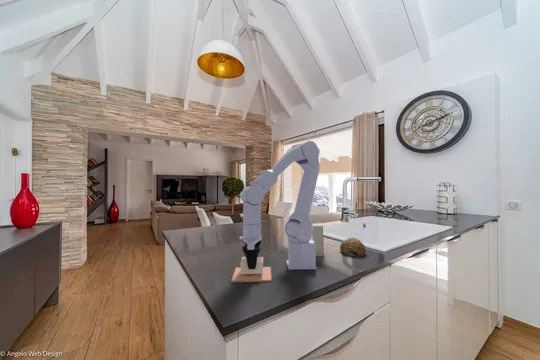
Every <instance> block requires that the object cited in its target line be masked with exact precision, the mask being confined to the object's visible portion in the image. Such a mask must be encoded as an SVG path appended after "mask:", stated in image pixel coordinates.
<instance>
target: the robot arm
mask: <svg viewBox="0 0 540 360" xmlns="http://www.w3.org/2000/svg"><path fill="white" fill-rule="evenodd" d="M320 153H321V150H320V149H319V147H318V145H317V144H316V142H314V141H313V140H306V141H305V142H301V143H299V144H294V145H293V146H291V147H289V149H287V150H286V152H285V153H284V154H283V156H281V158H280V159H279V160H278V161H277V162H276V163H275V164H274V165H273V166H272V167H271V168H270V169H265V170H261V171H259V173H258V174H259V175H258V176H257V177H256V178H255V179H253V181H250V182H249V186H245V187H243V189H242V191H241V194H240V195H239V196H240V200H241V201H242V202H243V206H242V220H243V222H242V224H243V226H242V227H243V228H242V234H243V235H242V236H239V240H240V241H243V242H244V244H245V245H242V249H241V250H242V251H243V254H244V257H246V260H247V265H248V269H255V268H256V263H257V257H259V253H260V251H261V243H262V237H263V236H262V209H261V207H262V206H261V203H262V202H263V201H264V199H265V195H266V194H267V193H268V192H269V191H270V190H271V189H272V188H273V186H275V185H276V183H277V182H278V176H280V175H281V174H282V173H283V172H284V171H285V170H287V168H288V167H290V165H292V164H293V163H296V164H297V165H299V166H300V167H301V169H302V171H303V172H302V177H301V182H300V186H299V190H298V195H297V198H296V203H295V206H294V211H293V212H292V213H291V214H290V215H289V218H288V221H287V222H286V223H285V225H284V233H285V234H286V236H287V244H288V245H287V247H288V248H287V249H288V250H287V251H288V253H287V254H288V259H287V260H286V261H285V262H286V265H287V270H317V267H316V266H317V264H316V259H317V258H316V257H317V256H316V250H315V243H314V241H313V239H312V238H313V229H312V224H313V219H312V218H311V216H310V214H311V213H310V212H311V209H312V208H311V207H312V204H313V200H314V195H315V190H316V186H317V182H318V177H319V173H320V161H319V156H320ZM311 239H312V240H311Z"/></svg>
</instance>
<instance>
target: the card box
mask: <svg viewBox="0 0 540 360" xmlns="http://www.w3.org/2000/svg"><path fill="white" fill-rule="evenodd" d="M263 267H264V256H258V257H257V263H256V268H255V269H248V265H247V260H246V256H242V257H241V259H240V274H263Z"/></svg>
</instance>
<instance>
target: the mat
mask: <svg viewBox="0 0 540 360" xmlns="http://www.w3.org/2000/svg"><path fill="white" fill-rule="evenodd" d="M258 282H260V283H261V282H262V283H263V282H267V283H268V282H272V267H271V266H263V274H240V267H236V266H235V270H234V272H233V274H232V278H231V283H258Z"/></svg>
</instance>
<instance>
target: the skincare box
mask: <svg viewBox="0 0 540 360" xmlns="http://www.w3.org/2000/svg"><path fill="white" fill-rule="evenodd" d="M312 231H313V234H312V240H313V241H314V243H315V250H316V257H324V256H325V254H324V252H325V250H324V249H325V247H324V245H325V244H324V224H323V223H312Z"/></svg>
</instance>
